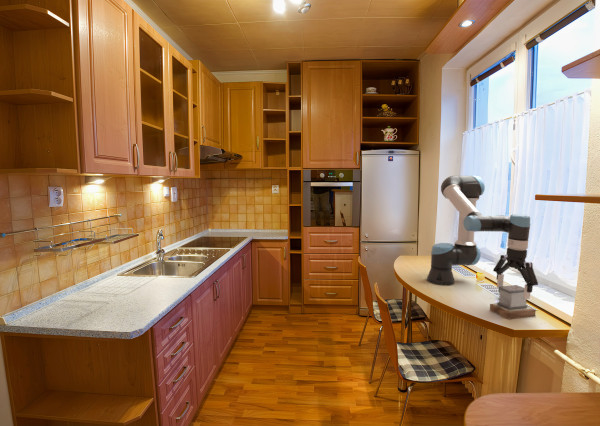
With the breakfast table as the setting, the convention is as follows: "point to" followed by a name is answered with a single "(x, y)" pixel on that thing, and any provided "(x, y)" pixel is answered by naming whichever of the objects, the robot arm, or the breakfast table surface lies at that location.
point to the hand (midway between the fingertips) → (512, 292)
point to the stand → (512, 312)
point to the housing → (512, 297)
